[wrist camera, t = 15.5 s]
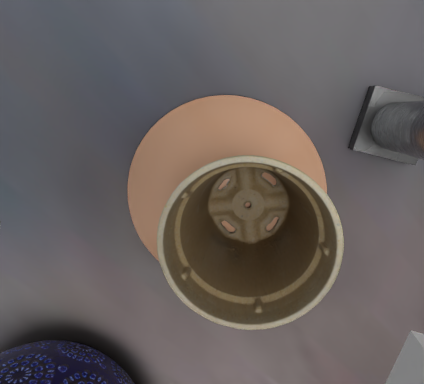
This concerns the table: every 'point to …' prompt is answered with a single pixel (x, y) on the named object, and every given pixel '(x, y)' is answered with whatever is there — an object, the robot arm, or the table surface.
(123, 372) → the planter
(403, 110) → the post
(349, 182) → the table surface
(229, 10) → the table surface
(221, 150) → the saucer
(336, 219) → the flower pot
